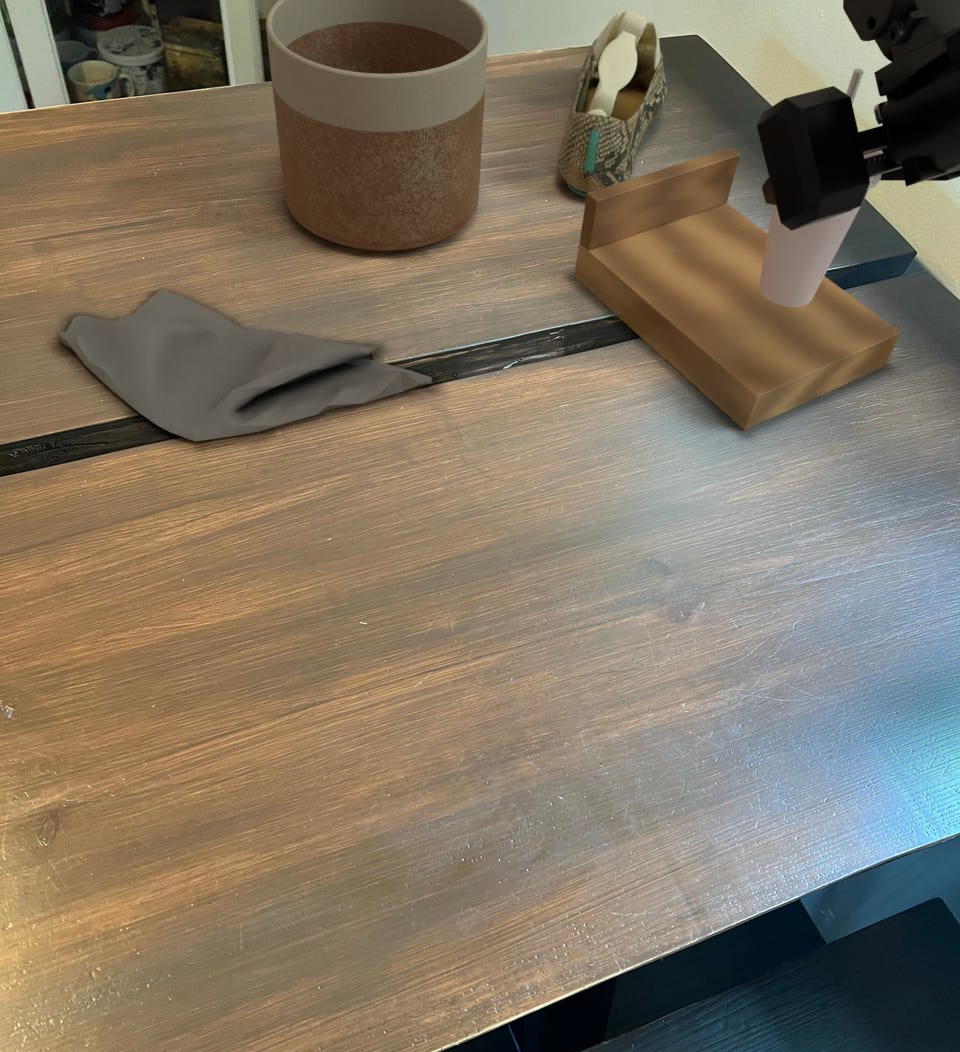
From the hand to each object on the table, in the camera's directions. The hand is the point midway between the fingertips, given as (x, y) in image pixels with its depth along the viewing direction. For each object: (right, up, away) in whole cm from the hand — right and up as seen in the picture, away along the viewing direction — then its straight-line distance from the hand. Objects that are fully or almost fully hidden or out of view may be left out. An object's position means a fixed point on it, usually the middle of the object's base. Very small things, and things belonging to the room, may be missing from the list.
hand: (805, 182), depth 63 cm
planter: (-29, +7, +20) cm, 35 cm away
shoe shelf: (-2, -5, +13) cm, 14 cm away
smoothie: (0, -5, +5) cm, 7 cm away
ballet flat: (-9, +17, +28) cm, 34 cm away
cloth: (-38, -11, +6) cm, 40 cm away
